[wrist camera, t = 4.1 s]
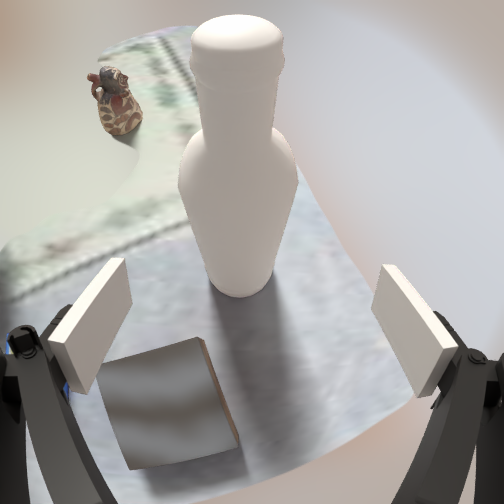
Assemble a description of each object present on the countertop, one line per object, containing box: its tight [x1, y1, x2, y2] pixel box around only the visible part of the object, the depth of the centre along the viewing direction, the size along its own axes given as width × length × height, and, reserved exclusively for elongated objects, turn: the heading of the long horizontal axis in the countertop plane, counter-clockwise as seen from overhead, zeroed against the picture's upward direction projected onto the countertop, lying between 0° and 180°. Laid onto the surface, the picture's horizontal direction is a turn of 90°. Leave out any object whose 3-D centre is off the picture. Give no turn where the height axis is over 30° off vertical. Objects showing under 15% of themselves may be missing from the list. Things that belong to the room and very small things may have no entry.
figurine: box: [87, 66, 143, 135], centre depth 40 cm, size 7×7×12 cm
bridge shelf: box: [96, 337, 239, 470], centre depth 29 cm, size 12×12×6 cm
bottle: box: [178, 15, 298, 298], centre depth 24 cm, size 8×8×30 cm
